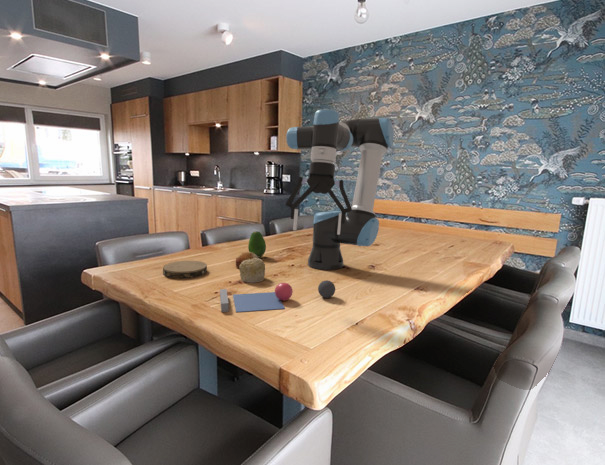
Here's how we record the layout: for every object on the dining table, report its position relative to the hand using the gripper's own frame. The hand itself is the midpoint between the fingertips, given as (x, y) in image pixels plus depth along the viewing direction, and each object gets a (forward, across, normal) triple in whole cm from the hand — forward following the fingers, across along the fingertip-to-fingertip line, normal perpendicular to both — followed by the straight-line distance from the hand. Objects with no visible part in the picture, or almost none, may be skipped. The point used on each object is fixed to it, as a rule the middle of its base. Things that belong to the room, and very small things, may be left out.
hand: (316, 232), depth 109 cm
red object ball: (+19, -8, -2) cm, 21 cm away
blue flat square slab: (+22, -16, -5) cm, 28 cm away
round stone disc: (+22, -50, +18) cm, 58 cm away
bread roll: (+19, -30, +32) cm, 48 cm away
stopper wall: (+23, -25, -9) cm, 35 cm away
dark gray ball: (+18, +5, +3) cm, 19 cm away
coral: (+21, -24, +16) cm, 35 cm away
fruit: (+18, -31, +48) cm, 60 cm away
